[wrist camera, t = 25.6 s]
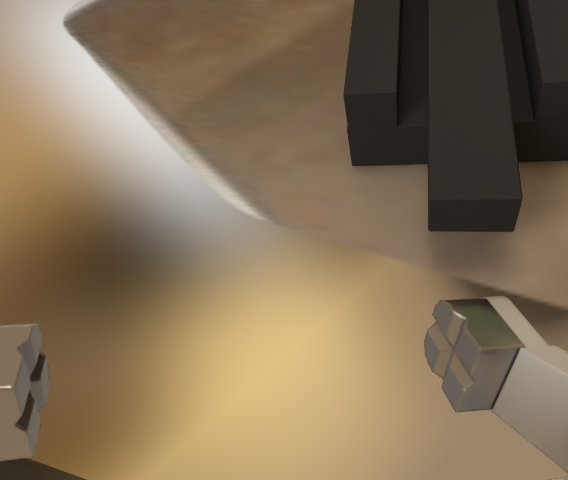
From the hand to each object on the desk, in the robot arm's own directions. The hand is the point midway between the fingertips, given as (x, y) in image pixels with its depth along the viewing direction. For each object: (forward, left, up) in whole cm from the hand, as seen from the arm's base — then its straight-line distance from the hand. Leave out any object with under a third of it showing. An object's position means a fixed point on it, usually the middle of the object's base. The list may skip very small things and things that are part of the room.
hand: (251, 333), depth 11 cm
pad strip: (+5, +20, -7) cm, 21 cm away
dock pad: (+5, +20, -10) cm, 23 cm away
